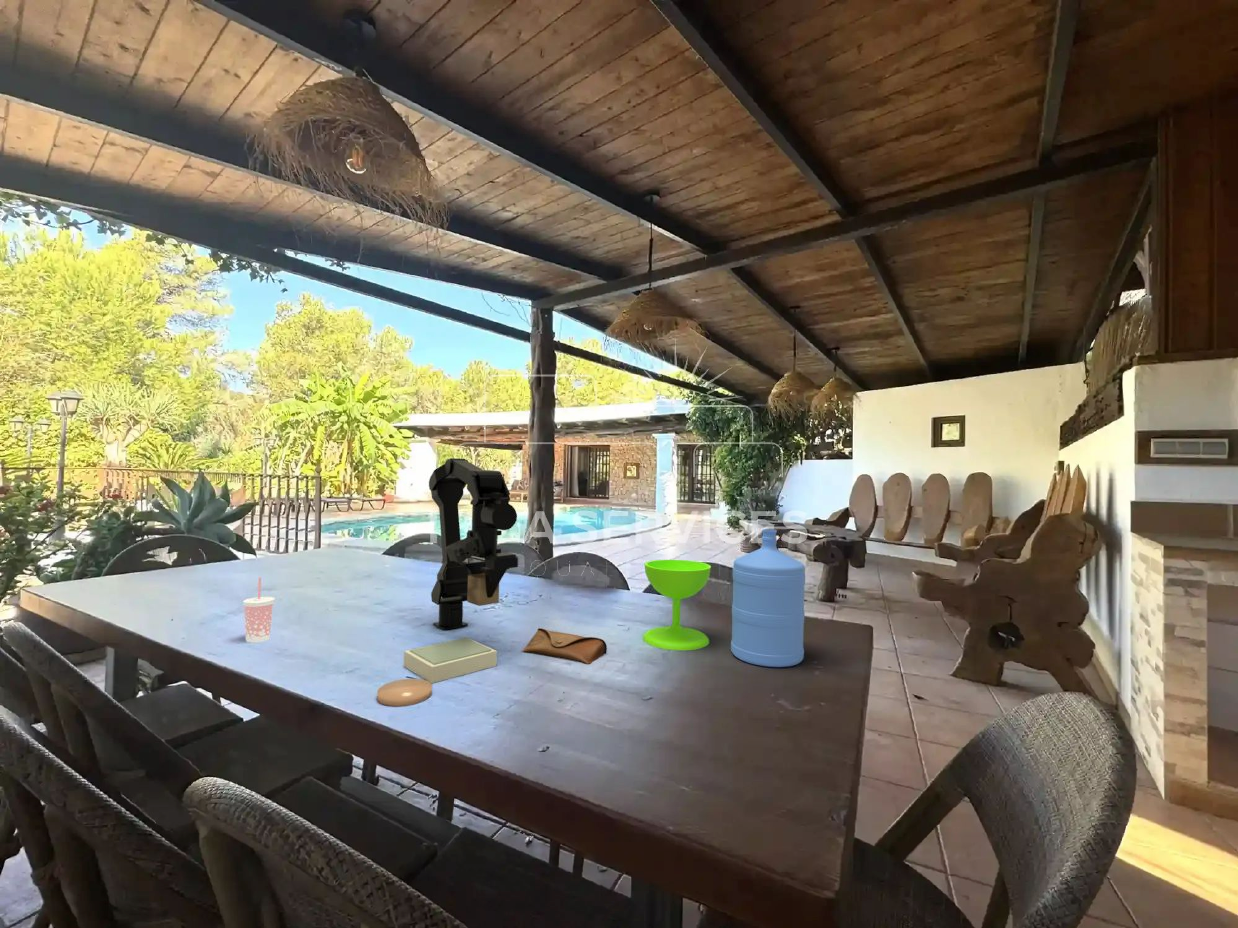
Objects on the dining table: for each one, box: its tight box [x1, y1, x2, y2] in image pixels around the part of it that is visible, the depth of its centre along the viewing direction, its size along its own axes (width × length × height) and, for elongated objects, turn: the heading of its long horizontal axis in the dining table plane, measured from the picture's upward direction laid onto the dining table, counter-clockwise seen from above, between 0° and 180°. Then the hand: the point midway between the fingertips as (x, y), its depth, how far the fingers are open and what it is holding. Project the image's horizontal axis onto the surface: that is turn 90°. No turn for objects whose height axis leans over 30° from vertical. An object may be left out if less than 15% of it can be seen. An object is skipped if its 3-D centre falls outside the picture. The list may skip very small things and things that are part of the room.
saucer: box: [376, 678, 433, 707], centre depth 97 cm, size 9×9×1 cm
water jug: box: [730, 529, 806, 668], centre depth 123 cm, size 16×16×28 cm
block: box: [466, 573, 500, 607], centre depth 124 cm, size 5×5×6 cm
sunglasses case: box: [520, 627, 608, 665], centre depth 122 cm, size 18×7×7 cm
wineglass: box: [642, 559, 712, 651], centre depth 133 cm, size 16×16×18 cm
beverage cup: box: [242, 577, 276, 643], centre depth 126 cm, size 6×6×14 cm
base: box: [403, 637, 498, 684], centre depth 112 cm, size 12×14×3 cm
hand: (483, 595), depth 124 cm, fingers closed on block, 5 cm apart
